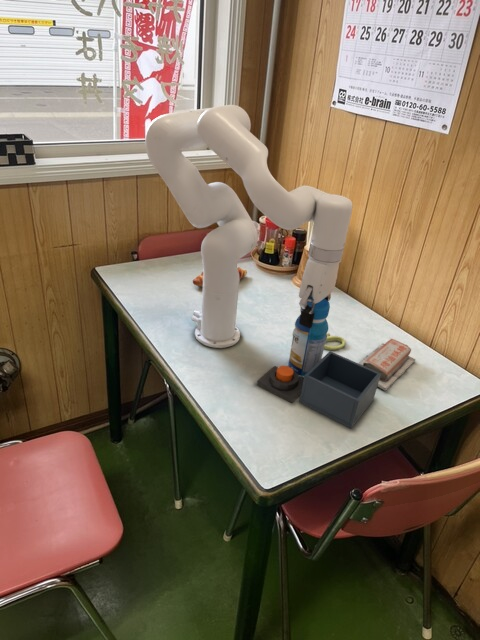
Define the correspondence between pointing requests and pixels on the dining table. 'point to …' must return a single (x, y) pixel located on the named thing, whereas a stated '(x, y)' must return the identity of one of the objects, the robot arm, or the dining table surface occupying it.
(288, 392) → the box
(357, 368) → the blue box
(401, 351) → the packaged product
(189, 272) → the dining table surface
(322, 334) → the beverage bottle
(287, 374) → the call button
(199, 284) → the croissant
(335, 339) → the key
